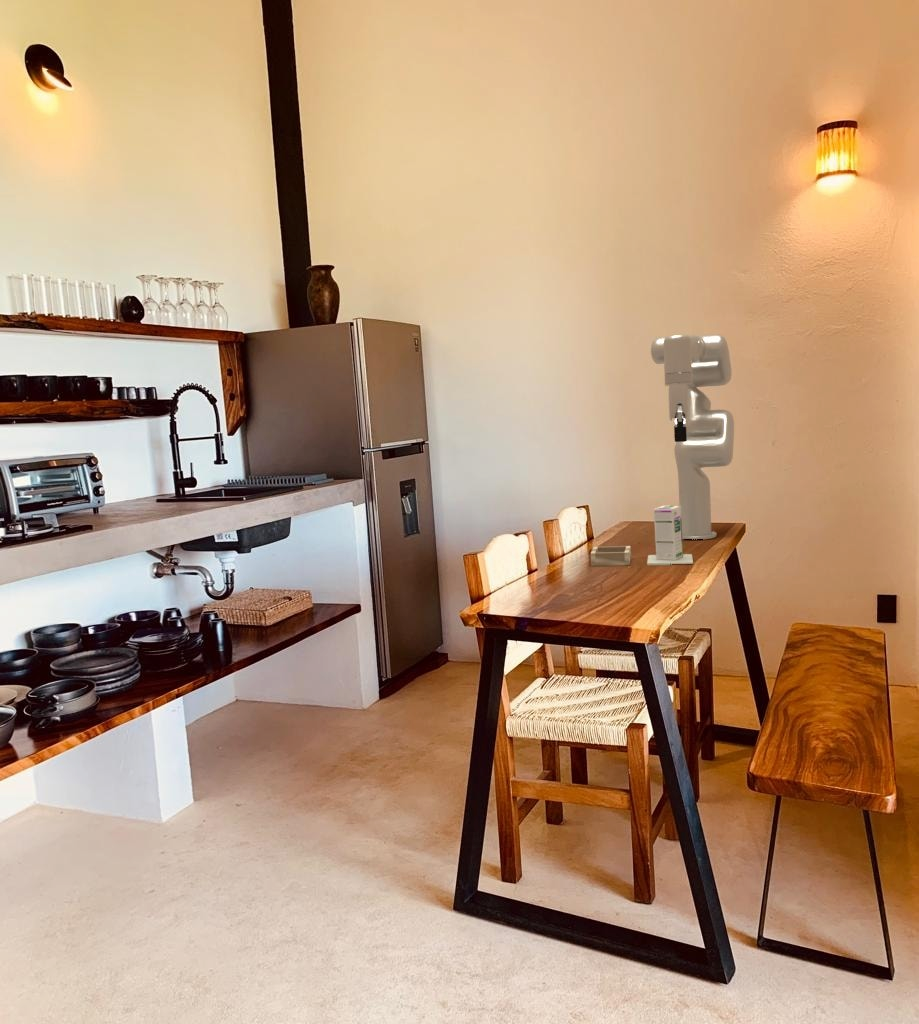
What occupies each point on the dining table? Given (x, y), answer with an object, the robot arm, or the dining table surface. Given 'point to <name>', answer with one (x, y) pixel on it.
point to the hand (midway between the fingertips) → (680, 440)
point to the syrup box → (668, 532)
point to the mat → (683, 560)
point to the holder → (610, 555)
